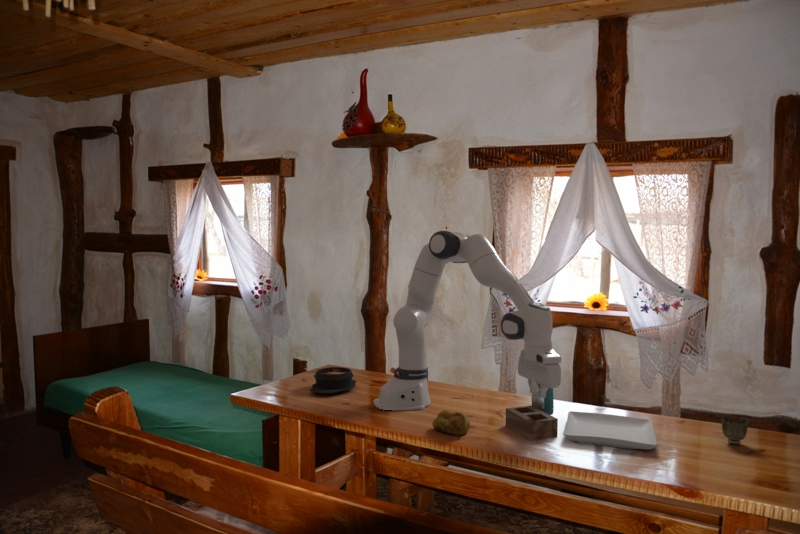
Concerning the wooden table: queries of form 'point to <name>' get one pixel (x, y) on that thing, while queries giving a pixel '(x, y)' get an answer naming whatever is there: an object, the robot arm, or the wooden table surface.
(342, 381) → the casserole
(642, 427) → the square plate
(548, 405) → the beverage bottle
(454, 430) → the bread roll
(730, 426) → the cup
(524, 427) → the socket block
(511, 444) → the wooden table surface
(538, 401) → the steel pin
